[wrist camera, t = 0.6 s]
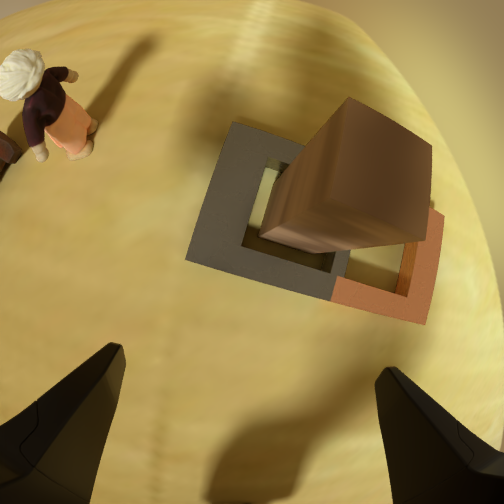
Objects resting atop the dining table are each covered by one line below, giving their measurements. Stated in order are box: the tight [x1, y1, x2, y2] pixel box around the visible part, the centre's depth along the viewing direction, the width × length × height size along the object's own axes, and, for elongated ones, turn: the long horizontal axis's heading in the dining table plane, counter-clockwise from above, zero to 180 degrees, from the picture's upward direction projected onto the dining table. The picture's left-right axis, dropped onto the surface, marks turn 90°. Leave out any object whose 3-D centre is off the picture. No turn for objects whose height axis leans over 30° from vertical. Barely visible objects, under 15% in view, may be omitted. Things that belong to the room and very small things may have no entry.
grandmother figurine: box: [0, 49, 98, 162], centre depth 13 cm, size 8×4×13 cm, turn 8°
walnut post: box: [258, 97, 432, 254], centre depth 16 cm, size 4×4×13 cm
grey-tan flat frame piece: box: [185, 122, 444, 325], centre depth 21 cm, size 22×11×2 cm, turn 74°
